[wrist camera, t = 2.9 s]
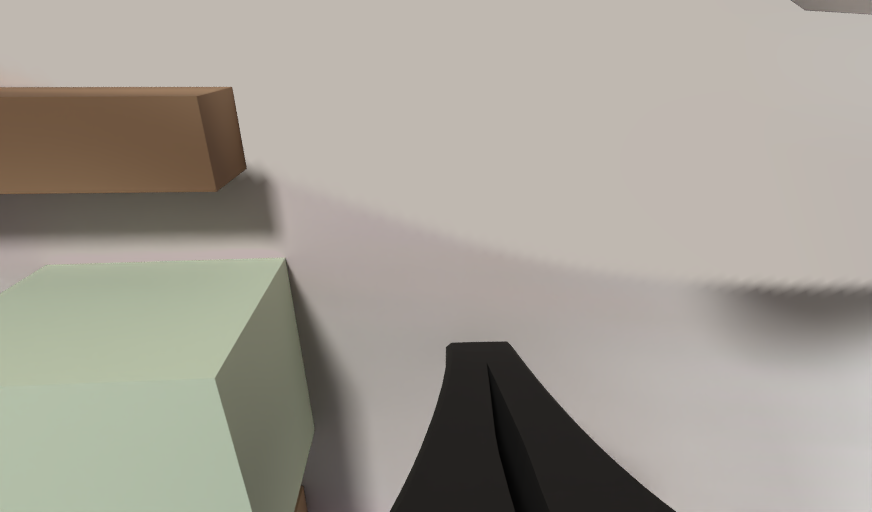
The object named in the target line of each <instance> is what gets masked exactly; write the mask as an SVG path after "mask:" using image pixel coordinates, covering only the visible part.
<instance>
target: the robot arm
mask: <svg viewBox="0 0 872 512" xmlns="http://www.w3.org/2000/svg"><path fill="white" fill-rule="evenodd" d="M390 512H676V511H674V510H673V509H672V508H670V507H669V506H668V505H667V504H665V503H664V502H663V501H661V500H660V499H659V498H658V497H656V496H655V495H654V494H653V493H651V492H650V491H649V490H648V489H646V488H645V487H644V486H643V485H642V484H640V483H639V482H638V481H637V480H636V479H635V478H633V477H632V476H631V475H630V474H629V473H628V472H627V471H625V470H624V469H623V468H622V467H621V466H620V465H619V464H617V463H616V462H615V461H614V460H613V459H612V458H611V457H610V456H609V455H608V454H607V453H606V452H605V451H604V450H603V449H601V448H600V447H599V446H598V445H597V444H596V443H595V442H594V441H593V440H592V439H591V438H590V437H589V436H588V435H587V434H586V433H585V432H584V431H583V430H582V429H581V428H580V427H579V426H578V424H577V423H576V422H575V421H574V420H573V419H572V418H571V417H570V416H569V415H568V414H567V413H566V412H565V410H564V409H563V408H562V407H561V406H560V405H559V404H558V403H557V401H556V400H555V399H554V398H553V397H552V396H551V395H550V394H549V392H548V391H547V390H546V389H545V388H544V387H543V385H542V384H541V383H540V382H539V381H538V379H537V378H536V377H535V376H534V374H533V373H532V372H531V371H530V369H529V368H528V367H527V366H526V364H525V363H524V362H523V361H522V359H521V358H520V357H519V355H518V354H517V353H516V351H515V350H514V349H513V347H512V346H511V345H510V344H509V343H508V342H463V343H451V344H449V345H448V346H447V347H446V369H445V374H444V379H443V384H442V388H441V391H440V395H439V398H438V402H437V405H436V408H435V412H434V415H433V417H432V420H431V423H430V425H429V428H428V431H427V433H426V436H425V439H424V441H423V444H422V446H421V449H420V451H419V453H418V456H417V458H416V460H415V462H414V465H413V467H412V469H411V471H410V473H409V475H408V477H407V479H406V482H405V484H404V486H403V488H402V490H401V492H400V494H399V495H398V497H397V499H396V501H395V503H394V505H393V507H392V508H391V510H390Z"/></svg>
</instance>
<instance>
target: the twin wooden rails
mask: <svg viewBox="0 0 872 512" xmlns="http://www.w3.org/2000/svg"><path fill="white" fill-rule="evenodd" d="M245 169H247V168H246V162H245V157H244V151H243V146H242V140H241V134H240V128H239V123H238V117H237V112H236V106H235V101H234V95H233V90H232V87H0V194H47V193H140V192H217V191H218V190H219V189H221V188H222V187H223V186H225V185H226V184H227V183H229V182H230V181H231V180H232V179H234V178H235V177H236V176H238V175H239V174H240V173H242V172H243V171H244V170H245ZM294 512H308V511H307V505H306V500H305V494H304V488H303V486H300V490H299V494H298V498H297V502H296V506H295V510H294Z"/></svg>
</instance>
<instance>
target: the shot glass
mask: <svg viewBox="0 0 872 512" xmlns="http://www.w3.org/2000/svg"><path fill="white" fill-rule="evenodd" d="M791 1H793V2H794V3H796V4H797V5H798V6H800V7H801V8H803V9H804V10H810V11H825V12H841V13H858V14H872V0H791Z"/></svg>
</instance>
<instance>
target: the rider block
mask: <svg viewBox="0 0 872 512" xmlns="http://www.w3.org/2000/svg"><path fill="white" fill-rule="evenodd" d="M314 431H315V428H314V422H313V417H312V411H311V405H310V399H309V393H308V387H307V382H306V376H305V370H304V364H303V358H302V353H301V347H300V341H299V335H298V329H297V323H296V318H295V312H294V306H293V300H292V294H291V288H290V283H289V277H288V271H287V265H286V259H285V258H258V259H225V260H192V261H160V262H127V263H94V264H61V265H46V266H44V267H42V268H41V269H39V270H37V271H36V272H34V273H33V274H31V275H29V276H28V277H26V278H25V279H23V280H21V281H20V282H18V283H16V284H15V285H13V286H12V287H10V288H8V289H7V290H5V291H3V292H2V293H0V512H294V510H295V506H296V502H297V498H298V494H299V490H300V486H301V483H302V479H303V475H304V471H305V467H306V463H307V459H308V455H309V451H310V447H311V443H312V439H313V435H314Z"/></svg>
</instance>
